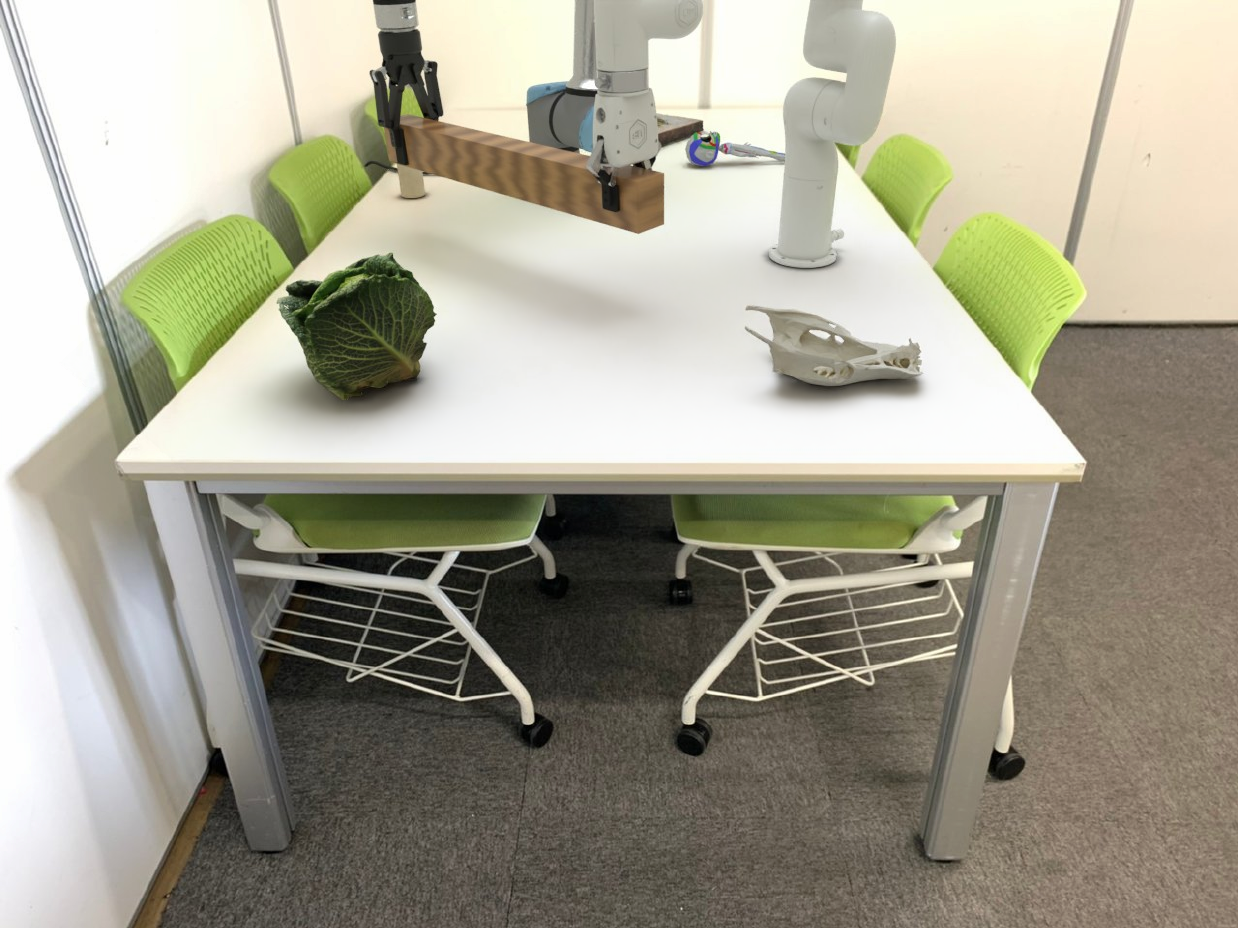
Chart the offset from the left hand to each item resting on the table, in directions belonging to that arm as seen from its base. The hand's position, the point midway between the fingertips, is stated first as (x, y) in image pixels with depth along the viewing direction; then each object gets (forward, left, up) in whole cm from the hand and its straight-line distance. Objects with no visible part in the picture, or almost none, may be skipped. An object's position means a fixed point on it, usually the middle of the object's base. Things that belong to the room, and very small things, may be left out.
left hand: (417, 160), depth 174 cm
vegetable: (+47, -43, -16) cm, 66 cm away
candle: (-29, +17, -16) cm, 37 cm away
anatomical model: (+94, +3, -16) cm, 95 cm away
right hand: (+56, 0, +2) cm, 56 cm away
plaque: (-32, +95, -16) cm, 102 cm away
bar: (+28, 0, -1) cm, 28 cm away
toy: (+11, +91, -16) cm, 92 cm away
